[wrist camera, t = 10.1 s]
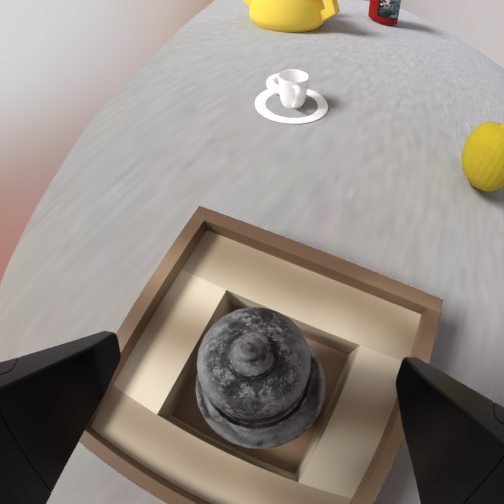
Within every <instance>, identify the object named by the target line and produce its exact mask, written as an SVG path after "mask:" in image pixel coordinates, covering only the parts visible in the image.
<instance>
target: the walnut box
mask: <svg viewBox="0 0 504 504" xmlns="http://www.w3.org/2000/svg"><path fill="white" fill-rule="evenodd" d="M442 303H443V300H442V299H439V298H437V297H434V296H432V295H430V294H427V293H425V292H422V291H420V290H418V289H415V288H413V287H410V286H408V285H405V284H403V283H400V282H398V281H396V280H393V279H391V278H388V277H386V276H383V275H381V274H378V273H376V272H373V271H371V270H368V269H366V268H363V267H361V266H358V265H355V264H353V263H350V262H348V261H345V260H343V259H340V258H338V257H335V256H332V255H330V254H327V253H325V252H322V251H320V250H317V249H314V248H312V247H309V246H307V245H304V244H301V243H299V242H296V241H293V240H291V239H288V238H285V237H283V236H280V235H277V234H275V233H272V232H269V231H267V230H264V229H261V228H259V227H256V226H253V225H251V224H248V223H245V222H242V221H240V220H237V219H234V218H232V217H229V216H226V215H223V214H221V213H218V212H215V211H212V210H209V209H207V208H204V207H201V206H199V207H198V209H197V210H196V211H195V213H194V214H193V216H192V217H191V219H190V220H189V221H188V223H187V224H186V226H185V227H184V229H183V230H182V232H181V233H180V234H179V236H178V237H177V239H176V240H175V242H174V243H173V245H172V246H171V248H170V249H169V251H168V252H167V254H166V255H165V257H164V258H163V260H162V261H161V263H160V264H159V266H158V267H157V269H156V270H155V272H154V274H153V275H152V277H151V278H150V280H149V281H148V283H147V284H146V286H145V288H144V289H143V291H142V292H141V294H140V296H139V297H138V299H137V300H136V302H135V304H134V305H133V307H132V308H131V310H130V312H129V313H128V315H127V317H126V318H125V320H124V322H123V323H122V325H121V327H120V328H119V330H118V332H117V333H116V335H117V337H118V342H119V347H120V353H121V359H120V362H119V365H118V367H117V369H116V371H115V374H114V376H113V378H112V380H111V383H110V385H109V387H108V389H107V391H106V394H105V396H104V397H103V399H102V401H101V403H100V405H99V406H98V408H97V410H96V411H95V413H94V415H93V417H92V418H91V420H90V422H89V424H88V426H87V427H86V429H85V431H84V433H83V434H82V436H81V438H80V440H79V442H80V443H81V444H83V445H84V446H85V447H86V448H88V449H89V450H90V451H91V452H92V453H94V454H95V455H96V456H97V457H99V458H100V459H101V460H103V461H104V462H105V463H107V464H108V465H109V466H111V467H112V468H113V469H115V470H116V471H117V472H119V473H120V474H122V475H123V476H125V477H126V478H127V479H129V480H130V481H132V482H133V483H135V484H136V485H138V486H139V487H141V488H143V489H144V490H146V491H147V492H149V493H151V494H152V495H154V496H155V497H157V498H159V499H160V500H162V501H164V502H166V503H167V504H374V502H375V500H376V498H377V496H378V494H379V492H380V490H381V488H382V486H383V484H384V482H385V480H386V478H387V476H388V474H389V472H390V470H391V468H392V466H393V463H394V461H395V459H396V457H397V454H398V452H399V450H400V447H401V445H402V442H403V440H404V437H405V434H404V430H403V426H402V421H401V415H400V409H399V403H398V397H397V391H396V377H397V374H398V371H399V368H400V365H401V362H402V360H403V358H405V357H417V358H419V359H421V360H422V361H424V362H426V363H427V364H429V362H430V358H431V354H432V350H433V346H434V342H435V337H436V333H437V328H438V324H439V319H440V314H441V308H442ZM249 307H259V308H267V309H271V310H274V311H277V312H279V313H281V314H283V315H284V316H286V317H288V318H289V319H291V320H292V321H293V322H294V324H295V325H296V326H297V327H298V328H299V329H300V330H301V332H302V334H303V336H304V338H305V339H306V341H307V343H308V345H309V346H310V347H311V348H312V349H313V350H314V352H315V354H316V356H317V357H318V359H319V361H320V363H321V364H322V368H323V372H324V376H325V398H324V401H323V405H322V408H321V411H320V413H319V415H318V416H317V418H316V419H315V421H314V422H313V424H312V425H311V427H310V428H308V429H307V430H306V431H305V432H304V433H303V434H302V435H300V436H299V437H298V438H296V439H294V440H292V441H290V442H288V443H286V444H284V445H282V446H277V447H272V448H267V449H256V448H246V447H243V446H240V445H237V444H234V443H231V442H229V441H228V440H226V439H225V438H223V437H222V436H220V435H219V434H217V433H216V432H215V431H214V430H213V429H212V428H211V426H210V425H209V424H208V423H207V422H206V421H205V419H204V417H203V415H202V413H201V410H200V408H199V406H198V402H197V396H196V390H195V388H196V379H197V372H198V371H197V358H198V351H199V348H200V345H201V343H202V340H203V338H204V336H205V335H206V333H207V332H208V331H209V329H210V328H211V327H212V325H213V324H215V323H216V322H217V321H218V320H220V319H221V318H222V317H223V316H225V315H227V314H229V313H231V312H234V311H236V310H239V309H244V308H249Z"/></svg>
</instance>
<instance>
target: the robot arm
mask: <svg viewBox="0 0 504 504" xmlns="http://www.w3.org/2000/svg"><path fill="white" fill-rule="evenodd" d="M120 359H121V353H120V347H119V342H118V337H117V335H116V334H115V333H113V332H108V331H103V332H100V333H97V334H93V335H90V336H87V337H84V338H81V339H78V340H74V341H71V342H68V343H65V344H61V345H58V346H55V347H52V348H48V349H45V350H42V351H38V352H35V353H32V354H28V355H25V356H22V357H20V358H15V359H11V360H7V361H4V362H0V504H46V503H47V501H48V499H49V497H50V495H51V492H52V491H53V489H54V487H55V485H56V483H57V481H58V479H59V477H60V475H61V473H62V471H63V469H64V467H65V466H66V464H67V462H68V460H69V458H70V456H71V454H72V453H73V451H74V449H75V447H76V445H77V443H78V442H79V440H80V438H81V436H82V434H83V433H84V431H85V429H86V427H87V426H88V424H89V422H90V420H91V418H92V417H93V415H94V413H95V411H96V410H97V408H98V406H99V405H100V403H101V401H102V399H103V397H104V396H105V394H106V391H107V389H108V387H109V385H110V383H111V380H112V378H113V376H114V374H115V371H116V369H117V367H118V365H119V362H120ZM396 391H397V397H398V403H399V409H400V415H401V421H402V426H403V430H404V434H405V438H406V441H407V445H408V449H409V453H410V457H411V461H412V465H413V469H414V474H415V478H416V483H417V487H418V492H419V497H420V502H421V504H504V407H502V406H500V405H499V404H497V403H495V402H494V403H493V401H491V400H490V399H488V398H486V397H484V396H483V395H481V394H479V393H478V392H476V391H474V390H472V389H471V388H469V387H467V386H465V385H464V384H462V383H460V382H458V381H457V380H455V379H453V378H452V377H450V376H448V375H446V374H445V373H443V372H441V371H439V370H438V369H436V368H434V367H433V366H431V365H429V364H427V363H426V362H424V361H422V360H421V359H419V358H417V357H405V358H403V360H402V362H401V365H400V368H399V371H398V374H397V377H396Z"/></svg>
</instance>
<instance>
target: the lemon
mask: <svg viewBox="0 0 504 504" xmlns="http://www.w3.org/2000/svg"><path fill="white" fill-rule="evenodd" d="M462 166H463V170H464V173H465V175H466V177H467V179H468V180H469V181H470V183H471V185H472V186H473V187H476V188H478V189H480V190H483V191H488V192H491V191H496V190H499V189H501V188H502V187H503V186H504V124H503V125H502V124H499V123H496V122H487V123H483V124H481V125H480V126H478V127H477V128H476V129H475V130H474V131H473V132H472V133H471V135H470V136H469V137H468V139H467V141H466V143H465V146H464V149H463V153H462Z"/></svg>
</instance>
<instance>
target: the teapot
mask: <svg viewBox="0 0 504 504" xmlns="http://www.w3.org/2000/svg"><path fill="white" fill-rule="evenodd" d="M243 1H244V2H245V3H246V4H247V5H248V6H249V7H250V11H249V16H250V18H251V20H252V21H253V22H254V23H255V24H257V25H258V26H259V27H261V28H264V29H267V30H272V31H280V32H306V31H312V30H315V29H317V28H318V27H320V26H321V25H322V24H323V23H324V22H325V20H327V19H328V18H330V17H332V16H334V15H335V14H337V13H339V12H340V10H339V6H338V3H337V0H324V4H325V7H324V4H323V1H322V0H243Z"/></svg>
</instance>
